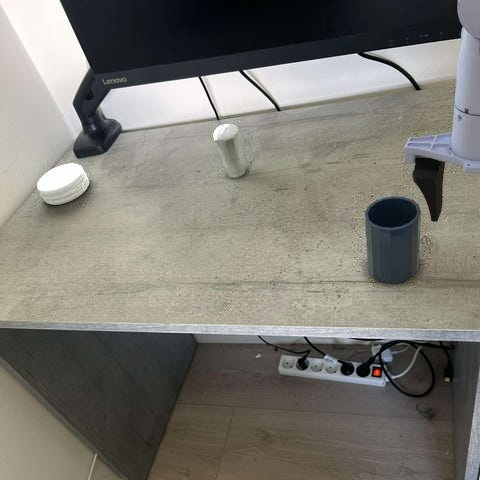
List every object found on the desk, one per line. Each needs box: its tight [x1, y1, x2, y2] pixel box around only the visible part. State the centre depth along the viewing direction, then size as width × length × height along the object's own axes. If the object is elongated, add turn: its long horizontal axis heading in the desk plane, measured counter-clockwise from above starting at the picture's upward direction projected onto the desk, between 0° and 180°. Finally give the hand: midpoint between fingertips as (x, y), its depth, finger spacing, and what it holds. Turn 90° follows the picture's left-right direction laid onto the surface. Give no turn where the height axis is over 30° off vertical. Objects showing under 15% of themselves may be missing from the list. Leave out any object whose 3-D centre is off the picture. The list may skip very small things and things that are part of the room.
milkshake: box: [213, 120, 246, 179], centre depth 86 cm, size 5×5×10 cm
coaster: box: [36, 163, 90, 206], centre depth 100 cm, size 10×10×4 cm
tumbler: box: [364, 195, 422, 285], centre depth 62 cm, size 6×6×9 cm
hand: (472, 219), depth 54 cm, fingers open, 7 cm apart
